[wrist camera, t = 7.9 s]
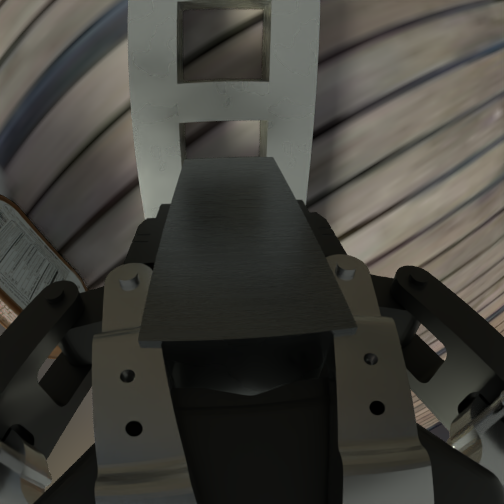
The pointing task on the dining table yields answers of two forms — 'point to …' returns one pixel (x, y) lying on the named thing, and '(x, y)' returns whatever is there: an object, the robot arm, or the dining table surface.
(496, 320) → the dining table surface
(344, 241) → the dining table surface
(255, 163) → the square peg
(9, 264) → the tin
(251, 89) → the rail
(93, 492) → the robot arm
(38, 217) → the dining table surface
